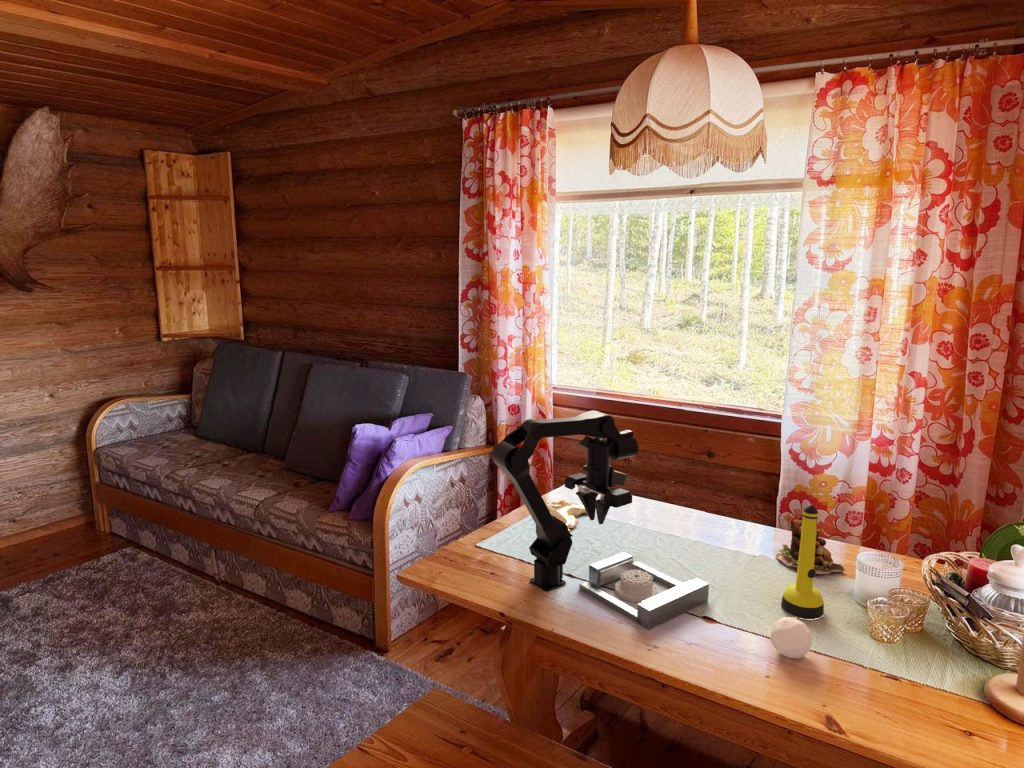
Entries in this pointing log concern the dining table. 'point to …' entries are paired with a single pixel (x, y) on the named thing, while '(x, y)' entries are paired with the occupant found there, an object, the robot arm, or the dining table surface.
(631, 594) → the mechanical component
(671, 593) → the vise
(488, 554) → the dining table surface
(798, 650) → the ball
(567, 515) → the unicorn
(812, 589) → the flashlight
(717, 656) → the dining table surface
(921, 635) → the dining table surface
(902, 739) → the dining table surface
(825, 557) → the mossy log pile
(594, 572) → the block
